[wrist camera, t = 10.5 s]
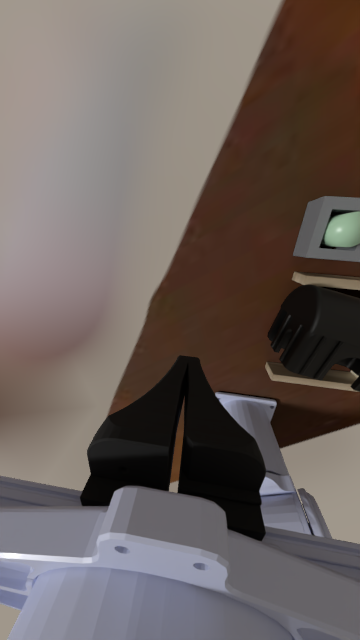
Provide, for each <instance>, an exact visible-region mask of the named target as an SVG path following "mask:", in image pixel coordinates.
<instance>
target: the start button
mask: <svg viewBox="0 0 360 640" xmlns="http://www.w3.org/2000/svg"><path fill="white" fill-rule="evenodd" d="M359 243H360V211H358V212H352V213H346V214H341V215H336V216H331V217H329V220H328V223H327V226H326V229H325V232H324V235H323V238H322V241H321V244H320V246H330V247H353V246H356V245H358V244H359Z"/></svg>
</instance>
